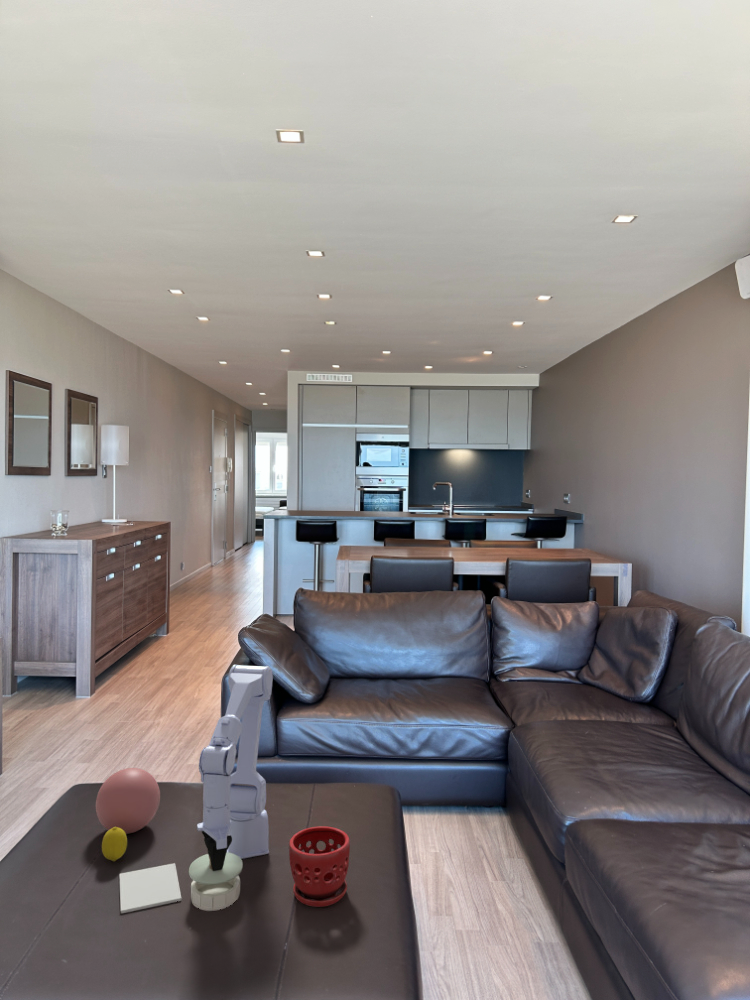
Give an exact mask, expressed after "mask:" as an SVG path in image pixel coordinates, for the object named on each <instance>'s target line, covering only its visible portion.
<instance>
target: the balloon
mask: <svg viewBox="0 0 750 1000" xmlns="http://www.w3.org/2000/svg"><path fill="white" fill-rule="evenodd" d="M160 801H161V790H160V787H159V784H158V782H157V780H156V778H155V777H154V776H153V775H152V774H151V773H149V772H148V771H147V770H144V769H142V768H137V767H129V768H128V767H127V768H123V769H120V770H117V771H115V772H114V773H113V774H111V775H110V776H108V778H107V779H106V780H105V781H104V782H103V783H102V785H101V786H100V788H99V790H98V791H97V796H96V800H95V811H96V812H95V813H96V816H97V819H98V821H99V822H100V824H101V825H102V826H103V828H105V829H106V830H107V831H109V830H110V829H112V828H113V827H118V828H121V829H122V830H124V832H125V833H126V835H129V834H133V833H136V832H138V831H140V830H141V829H143V828H145V827H146V826H147V825H148V824H149V823H150V822H151V821H152V820H153V818H154V817H155V816H156V814H157V811H158V810H159V808H160V807H159V806H160Z"/></svg>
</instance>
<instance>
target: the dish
mask: <svg viewBox="0 0 750 1000" xmlns="http://www.w3.org/2000/svg"><path fill="white" fill-rule="evenodd" d="M240 893H241V878H240V876H239V875H238V876H236V877H235V878H233V879H232V880H230V881H227V882H224V883H220V884H213V885H208V884H201V883H198V882H195V881H194V880H192V881H191V884H190V897H191V898H190V900H191V904H192V905H193V907H195V908H196V909H198V908H199V909H198V910H201V911H204V912H205V911H206V912H215V911H221V910H224V909H227V908H229V907H231V906H232V905H233V903H234V902H235V901H236V900H237V901H238V899H239V897H240ZM237 901H236V902H237ZM236 902H235V903H236ZM235 903H234V904H235ZM230 905H231V906H230ZM226 907H227V908H226ZM220 909H221V910H220Z"/></svg>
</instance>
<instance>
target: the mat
mask: <svg viewBox="0 0 750 1000" xmlns="http://www.w3.org/2000/svg"><path fill="white" fill-rule="evenodd" d="M181 894H182V893H181V889H180V883H179V877H178V871H177V867H176V862H174V863H168V864H164V865H163V864H162V865H159V866H153V867H148V868H147V867H146V868H143V869H138V870H132V871H127V872H121V873H119V897H120V902H119V903H120V914H126V913H131V912H134V911H140V910H144V909H150V908H154V907H159V906H163V905H168V904H171V903H176V902H177V901H178V902H182V895H181Z"/></svg>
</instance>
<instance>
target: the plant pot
mask: <svg viewBox="0 0 750 1000" xmlns="http://www.w3.org/2000/svg"><path fill="white" fill-rule="evenodd" d="M330 840H332V841H333V843H331V842H330ZM288 842H289V844H288V846H289V847H288V849H289V851H288V853H289V855H288V857H289V867H290V871H291V876H292V879H293V881H294V884H293V895H294V897H295V898H296V899H297V900H298V901H299V902H300V903H302V904H304V905H306V906H309V907H313V908H314V907H315V908H316V907H317V908H319V907H320V908H321V907H328V906H331V905H334V904H336V903H337V902H339V901H340V900H341V899H342V898H343V897H344V896H345V895H346V892H347V890H348V883H347V881H346V877H347V875H348V870H349V863H350V860H349V859H350V851H351V850H350V849H351V848H350V847H351V845H350V837H349V835H348V834H347V833H346V832H345V831H343V830H341V829H340V828H336V827H332V826H326V825H325V826H323V825H321V826H319V825H318V826H312V827H307V828H304V829H302V830H299V831H297V832H296V833H295V834H293V836H292V837H291V838H290V839H289V841H288ZM308 842H310V845H309V846H307V843H308ZM319 842H323V843H324V844H325V847H324V849H319V848H318V846H317V844H318V843H319ZM338 846H340V847H338ZM311 850H313V853H310V851H311Z"/></svg>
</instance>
